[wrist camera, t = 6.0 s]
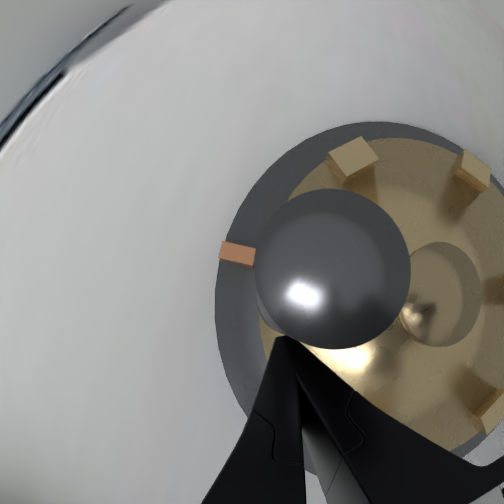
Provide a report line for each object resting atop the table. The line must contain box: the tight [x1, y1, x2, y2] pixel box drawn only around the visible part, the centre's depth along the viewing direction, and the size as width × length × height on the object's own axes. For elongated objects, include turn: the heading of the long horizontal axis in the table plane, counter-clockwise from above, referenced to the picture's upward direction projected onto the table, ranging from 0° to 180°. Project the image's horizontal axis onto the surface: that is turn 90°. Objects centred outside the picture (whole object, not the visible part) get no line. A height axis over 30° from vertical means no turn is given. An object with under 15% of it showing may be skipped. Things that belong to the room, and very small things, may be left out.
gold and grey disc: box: [215, 122, 504, 475], centre depth 18 cm, size 26×26×2 cm
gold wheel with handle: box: [254, 136, 504, 451], centre depth 11 cm, size 21×21×12 cm
